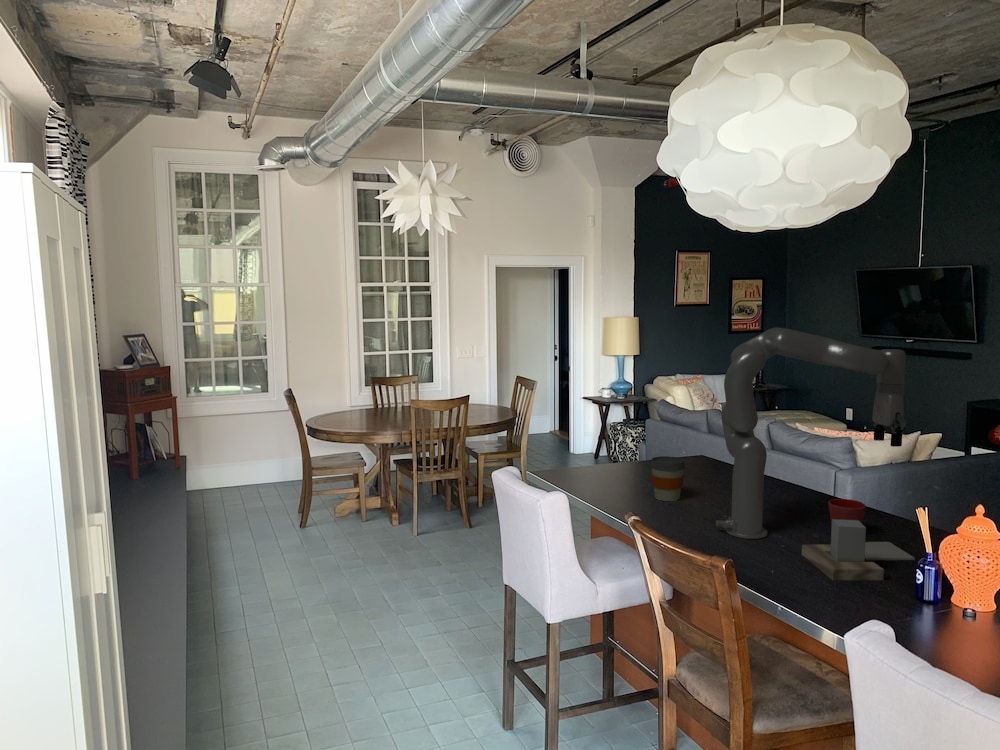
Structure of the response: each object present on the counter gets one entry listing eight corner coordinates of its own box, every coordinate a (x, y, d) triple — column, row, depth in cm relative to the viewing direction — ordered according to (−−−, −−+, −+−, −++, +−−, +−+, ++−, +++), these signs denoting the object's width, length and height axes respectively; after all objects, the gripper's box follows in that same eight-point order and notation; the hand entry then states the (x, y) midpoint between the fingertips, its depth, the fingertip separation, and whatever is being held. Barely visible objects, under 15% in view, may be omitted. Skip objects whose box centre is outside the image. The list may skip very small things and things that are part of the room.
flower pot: (844, 539, 228) (845, 509, 227) (820, 529, 239) (821, 499, 238) (872, 536, 231) (873, 506, 230) (847, 526, 241) (848, 497, 240)
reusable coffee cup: (681, 494, 281) (682, 456, 279) (686, 503, 268) (687, 463, 267) (648, 494, 282) (649, 456, 281) (652, 503, 270) (652, 463, 268)
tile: (866, 560, 210) (866, 558, 210) (843, 544, 224) (843, 542, 224) (914, 559, 210) (914, 557, 210) (888, 543, 224) (888, 541, 224)
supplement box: (864, 572, 200) (866, 527, 199) (835, 570, 202) (837, 526, 201) (857, 563, 208) (859, 519, 206) (829, 561, 209) (831, 518, 208)
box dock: (832, 580, 195) (833, 569, 194) (801, 554, 215) (802, 544, 214) (883, 580, 195) (883, 569, 195) (847, 554, 215) (847, 544, 214)
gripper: (863, 385, 235) (861, 438, 237) (893, 392, 218) (890, 448, 220) (886, 385, 235) (884, 438, 237) (918, 392, 218) (915, 448, 220)
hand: (887, 443), depth 229 cm, fingers open, 9 cm apart
